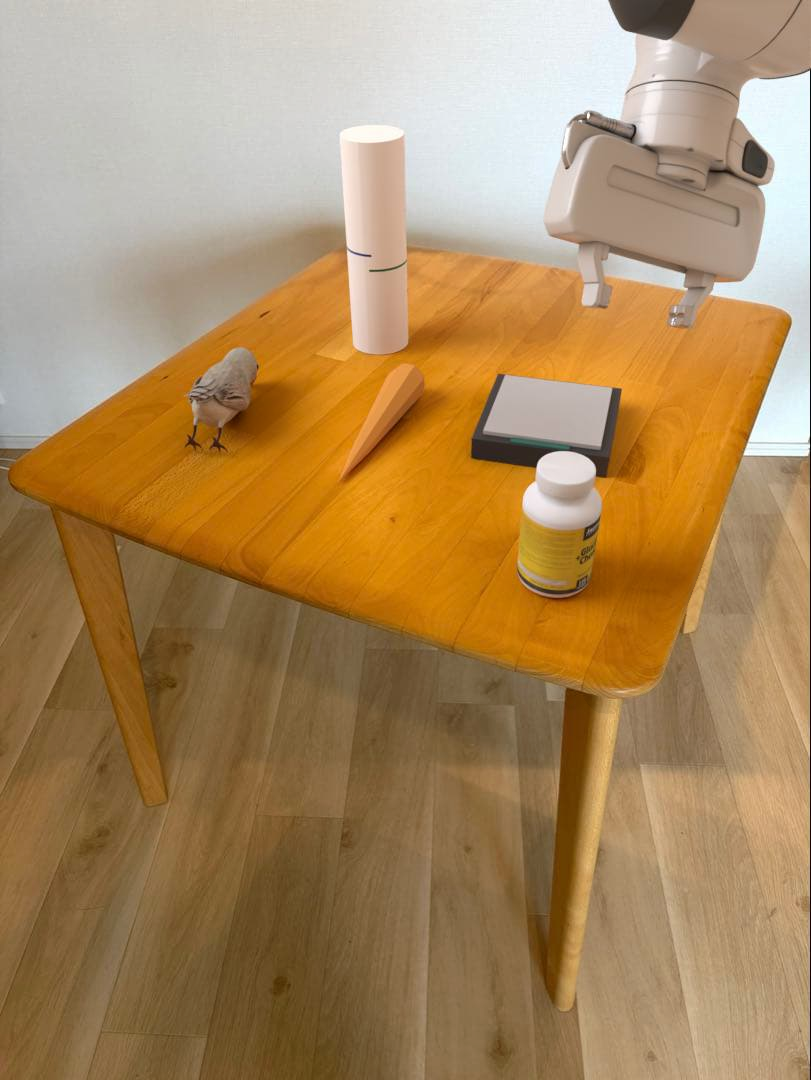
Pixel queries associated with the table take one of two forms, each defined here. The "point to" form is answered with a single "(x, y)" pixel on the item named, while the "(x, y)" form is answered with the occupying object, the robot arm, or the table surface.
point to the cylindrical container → (376, 236)
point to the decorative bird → (223, 392)
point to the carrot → (386, 410)
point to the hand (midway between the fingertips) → (638, 318)
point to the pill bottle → (559, 526)
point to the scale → (546, 421)
